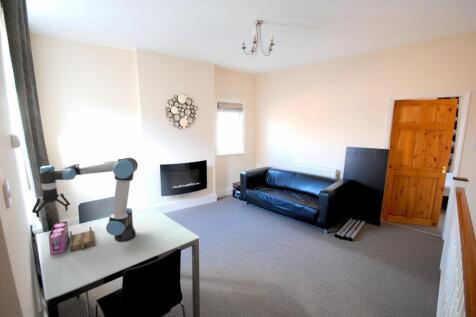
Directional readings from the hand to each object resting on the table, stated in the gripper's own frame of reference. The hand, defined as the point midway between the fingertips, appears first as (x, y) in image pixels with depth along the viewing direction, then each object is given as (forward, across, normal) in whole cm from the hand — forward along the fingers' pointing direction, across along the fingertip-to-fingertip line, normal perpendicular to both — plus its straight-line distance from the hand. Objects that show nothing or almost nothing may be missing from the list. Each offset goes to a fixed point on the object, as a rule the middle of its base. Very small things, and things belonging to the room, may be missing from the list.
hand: (53, 218), depth 158 cm
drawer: (+24, -15, -1) cm, 28 cm away
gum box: (+24, -3, -5) cm, 24 cm away
